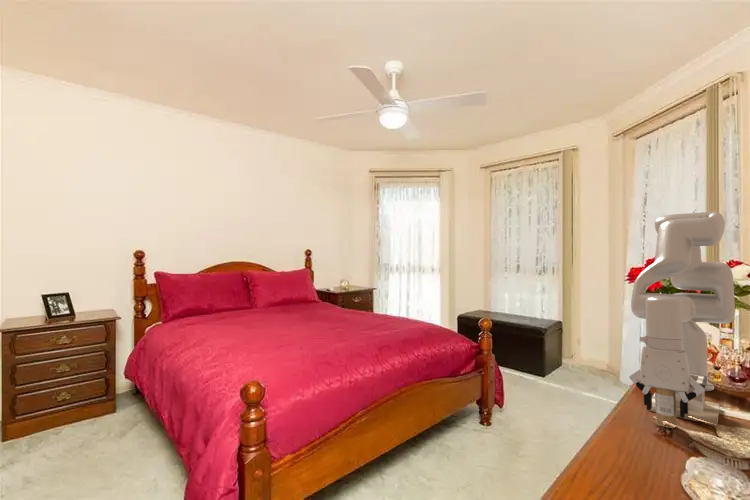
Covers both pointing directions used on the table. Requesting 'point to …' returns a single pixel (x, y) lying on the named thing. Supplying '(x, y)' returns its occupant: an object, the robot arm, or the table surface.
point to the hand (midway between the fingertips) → (665, 411)
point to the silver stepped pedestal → (696, 404)
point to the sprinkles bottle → (665, 406)
